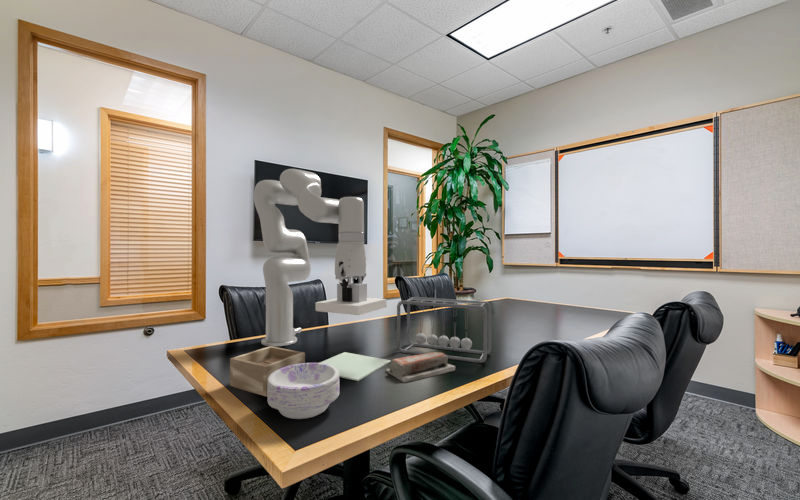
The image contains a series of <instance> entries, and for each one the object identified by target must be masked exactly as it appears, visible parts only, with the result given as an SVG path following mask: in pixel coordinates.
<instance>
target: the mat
mask: <svg viewBox="0 0 800 500" xmlns="http://www.w3.org/2000/svg"><path fill="white" fill-rule="evenodd" d="M391 361H392V359H391V360H390V359H385V358H380V357H374V356H367V355H363V354H358V353H357V354H356V353H351V352H346V351H344V352H342V353H339V354H337V355H334V356H332V357H330V358H328V359H325V360H323V361H319V363H323V364H328V365H331V366H333V367H335V368H337V369H338V371H339V378H342V379H347V380H352V381H356V382H359V381H361V380H362V379H364V378H366V377H368V376H369V375H371V374H373V373H375V372H376V371H378V370H380V369H381V368H384V367H385V366H387V365H388V364H389V365H390V364H391Z"/></svg>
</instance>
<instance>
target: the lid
mask: <svg viewBox="0 0 800 500" xmlns="http://www.w3.org/2000/svg"><path fill="white" fill-rule="evenodd" d="M350 288H352V301H351V302H346V301H342V288H341V284H340V283H337V284H336V298H332V299H327V300H321V301H317V302H315V312H321V313H330V314H331V313H332V314H342V315H350V316H351V315H352V316H360V315H364V314H368V313H371V312H374V311H379V310H381V309H385V308H387V305H388V303H387V298H378V297H377V298H374V297H368V284H367V283H362V284H359V283H353V282H351V287H350Z"/></svg>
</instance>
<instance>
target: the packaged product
mask: <svg viewBox="0 0 800 500" xmlns="http://www.w3.org/2000/svg"><path fill="white" fill-rule="evenodd" d="M446 355H447V354H445V353H444V352H438V351H437V352H436V351H434V352H426V354H420V355H414V354H413V355H409V356H403V357H398V358H393V359H391V362H390V363H389V368H386V369H385V372H386V373H387V374H389V375H391V376H393V377H395V378H396V379H398V380H399V381H401V382H403V383H408V382H413V381H417V380H421V379H422V380H423V379H425V378H432V377H435V376H439V375H442V374H447V373H450V372H455V371H456V365H453V364H451V363H448V360H449V359H448V357H447V356H446Z"/></svg>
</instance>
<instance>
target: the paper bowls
mask: <svg viewBox="0 0 800 500" xmlns="http://www.w3.org/2000/svg"><path fill="white" fill-rule="evenodd" d="M267 381H268V382H267V392H268V393H267V396H266V397H267V403H268V405H269V406H270V407H271V408H272V409H275V410H278V412H279V413H280V414H281V415H282V416H283V417H285V418H287V419H293V420H303V419H304V420H305V419H309V418H314V417H317V416H318V415H321V414H322V413H324V412H325V411H326V409H328V407H329V406H330V404H331V403H333V402H335V400H336V399H338V397H339V395H340V389H341V388H340V377H339V371H338V369H337V368H335V367H333V366H331V365H328V364H323V363H320V362H305V363H301V364H294V365H290V366H286V367H283V368H280V369H278V370H276V371H274V372H273V373H272V374H270V376H269V377H268V379H267Z"/></svg>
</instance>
